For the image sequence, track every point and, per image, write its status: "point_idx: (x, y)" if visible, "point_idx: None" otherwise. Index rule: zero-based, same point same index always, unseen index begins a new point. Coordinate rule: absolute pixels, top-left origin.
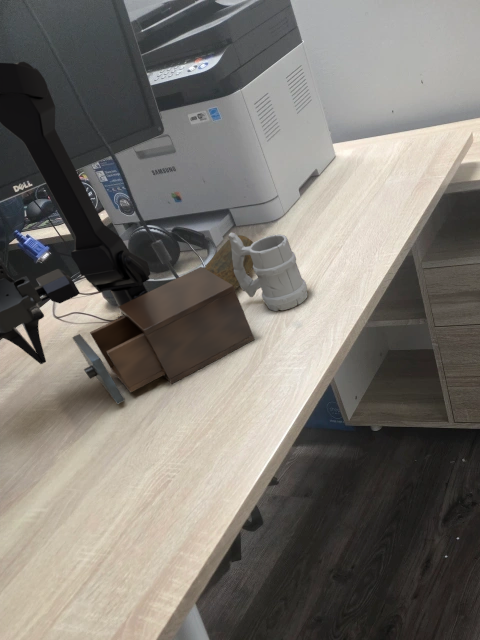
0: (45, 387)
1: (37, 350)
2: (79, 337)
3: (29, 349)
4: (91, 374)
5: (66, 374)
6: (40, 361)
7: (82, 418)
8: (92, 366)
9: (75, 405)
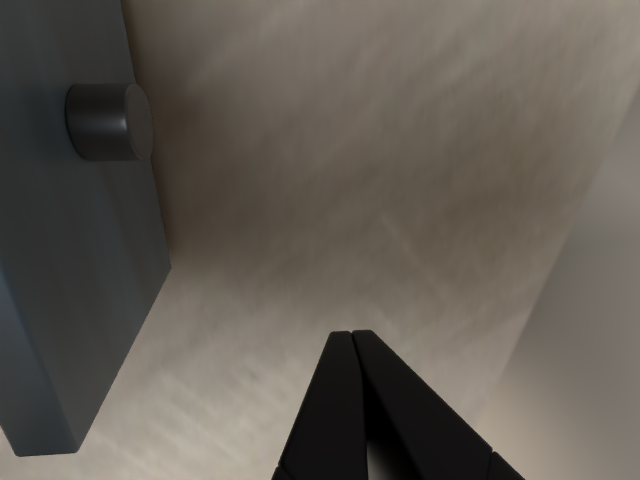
0: None
1: (352, 401)
2: (9, 407)
3: (423, 428)
4: (110, 85)
5: (282, 416)
6: (366, 339)
7: (312, 6)
8: (46, 82)
9: (309, 170)
